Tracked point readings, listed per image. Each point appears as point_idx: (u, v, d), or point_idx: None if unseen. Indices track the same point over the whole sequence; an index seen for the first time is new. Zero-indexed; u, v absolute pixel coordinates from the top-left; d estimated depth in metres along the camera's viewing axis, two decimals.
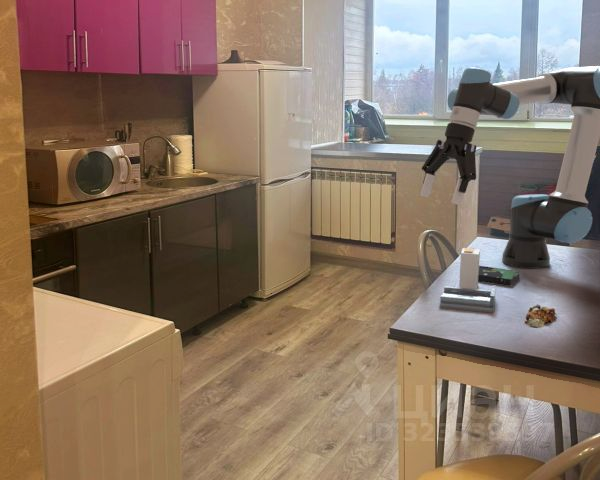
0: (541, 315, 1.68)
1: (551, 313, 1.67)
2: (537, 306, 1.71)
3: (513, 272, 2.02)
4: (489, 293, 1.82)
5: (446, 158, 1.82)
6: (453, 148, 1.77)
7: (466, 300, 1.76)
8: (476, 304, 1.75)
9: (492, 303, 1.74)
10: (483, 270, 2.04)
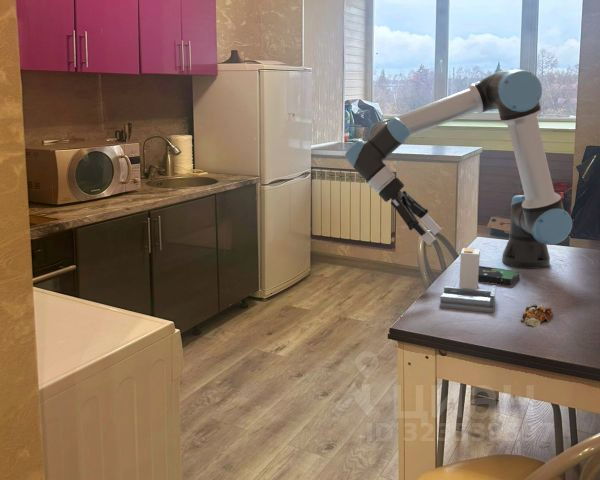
0: (537, 314, 1.68)
1: (547, 312, 1.68)
2: (534, 305, 1.72)
3: (513, 272, 2.02)
4: (489, 293, 1.82)
5: (411, 204, 1.97)
6: None
7: (466, 300, 1.76)
8: (476, 304, 1.75)
9: (492, 303, 1.74)
10: (483, 270, 2.04)
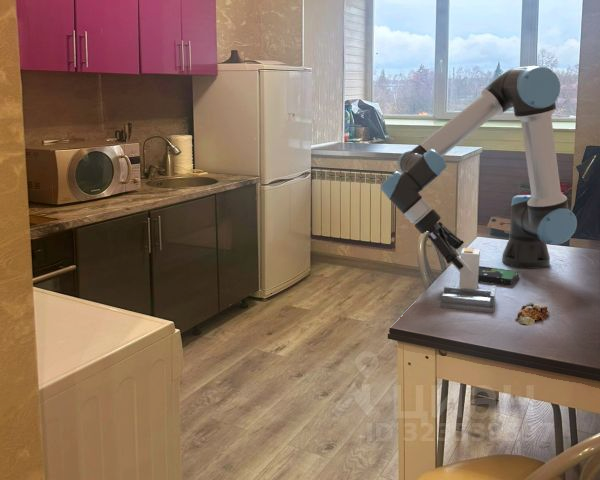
0: (533, 313, 1.69)
1: (543, 311, 1.69)
2: (530, 304, 1.73)
3: (512, 272, 2.02)
4: (489, 293, 1.82)
5: (447, 236, 1.96)
6: None
7: (466, 300, 1.76)
8: (476, 304, 1.75)
9: (492, 303, 1.74)
10: (482, 270, 2.04)
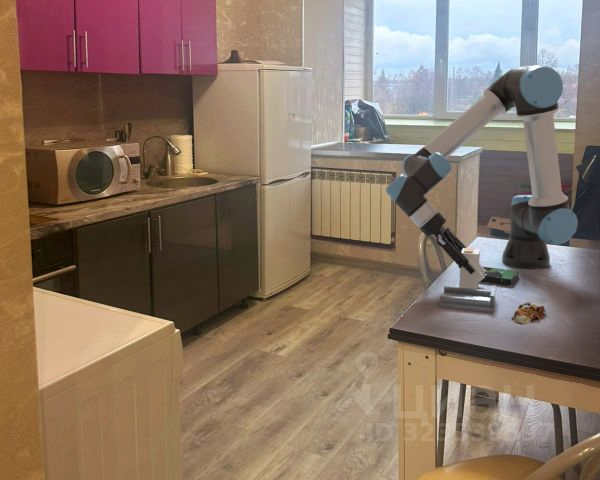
0: (529, 312, 1.70)
1: (539, 310, 1.69)
2: (527, 303, 1.74)
3: (512, 272, 2.02)
4: (489, 293, 1.82)
5: None
6: None
7: (466, 300, 1.76)
8: (476, 304, 1.75)
9: (492, 303, 1.74)
10: None
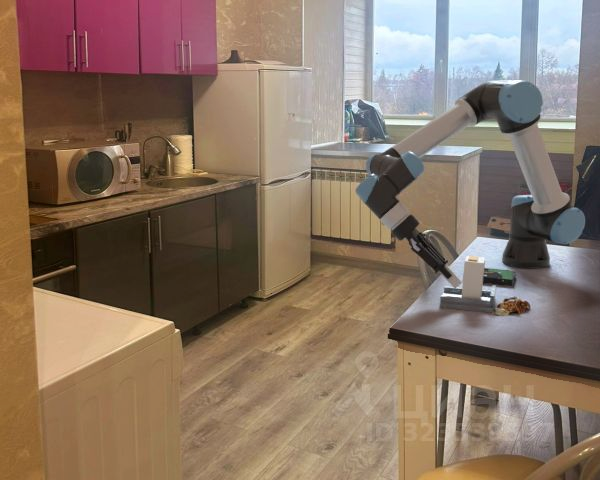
0: (512, 306, 1.74)
1: (522, 305, 1.74)
2: (514, 298, 1.78)
3: (510, 272, 2.02)
4: (489, 293, 1.82)
5: None
6: None
7: (466, 300, 1.76)
8: (476, 304, 1.75)
9: (492, 303, 1.74)
10: None
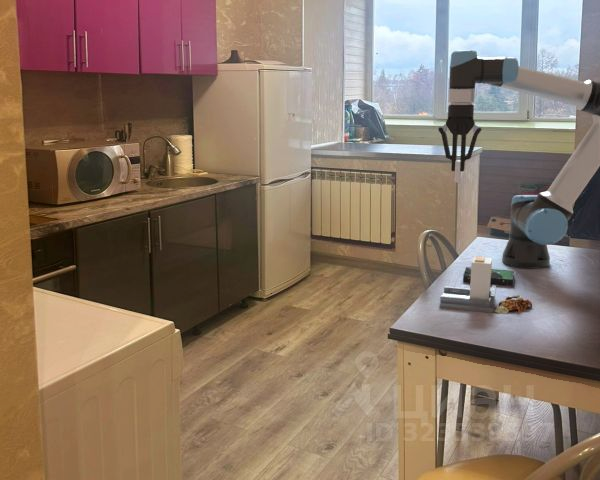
0: (513, 304, 1.76)
1: (523, 303, 1.75)
2: (516, 296, 1.79)
3: (509, 272, 2.02)
4: None
5: None
6: None
7: (466, 300, 1.76)
8: (476, 304, 1.75)
9: (492, 303, 1.74)
10: None
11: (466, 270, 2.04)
